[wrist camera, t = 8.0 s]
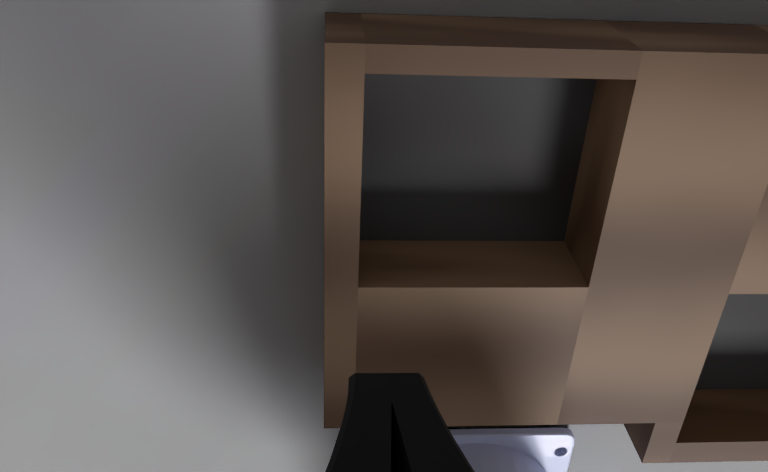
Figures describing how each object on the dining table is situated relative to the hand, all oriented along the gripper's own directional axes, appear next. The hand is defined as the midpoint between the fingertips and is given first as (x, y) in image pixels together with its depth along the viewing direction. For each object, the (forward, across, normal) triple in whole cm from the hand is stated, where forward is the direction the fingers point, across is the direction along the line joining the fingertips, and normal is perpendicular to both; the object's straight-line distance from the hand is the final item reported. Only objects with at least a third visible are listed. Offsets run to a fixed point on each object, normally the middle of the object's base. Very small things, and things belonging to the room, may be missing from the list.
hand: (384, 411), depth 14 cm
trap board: (+10, -12, +3) cm, 16 cm away
